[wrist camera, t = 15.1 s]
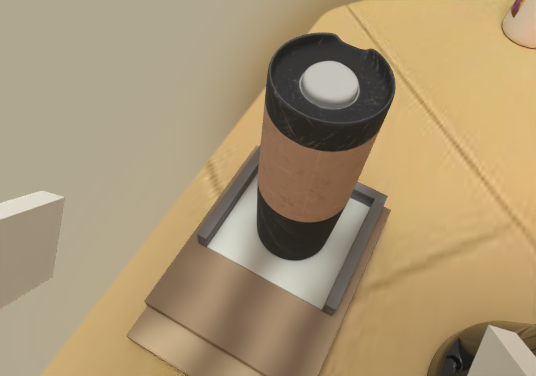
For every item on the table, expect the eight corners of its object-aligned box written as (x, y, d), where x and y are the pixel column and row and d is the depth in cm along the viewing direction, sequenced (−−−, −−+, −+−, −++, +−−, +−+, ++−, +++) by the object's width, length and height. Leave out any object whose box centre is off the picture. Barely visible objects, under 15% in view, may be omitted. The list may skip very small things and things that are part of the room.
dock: (382, 223, 46) (397, 200, 41) (286, 438, 34) (293, 437, 30) (255, 160, 49) (256, 134, 45) (129, 339, 38) (116, 326, 33)
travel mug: (267, 273, 38) (291, 138, 21) (244, 203, 42) (249, 40, 25) (343, 252, 40) (422, 111, 23) (315, 186, 44) (365, 22, 27)
